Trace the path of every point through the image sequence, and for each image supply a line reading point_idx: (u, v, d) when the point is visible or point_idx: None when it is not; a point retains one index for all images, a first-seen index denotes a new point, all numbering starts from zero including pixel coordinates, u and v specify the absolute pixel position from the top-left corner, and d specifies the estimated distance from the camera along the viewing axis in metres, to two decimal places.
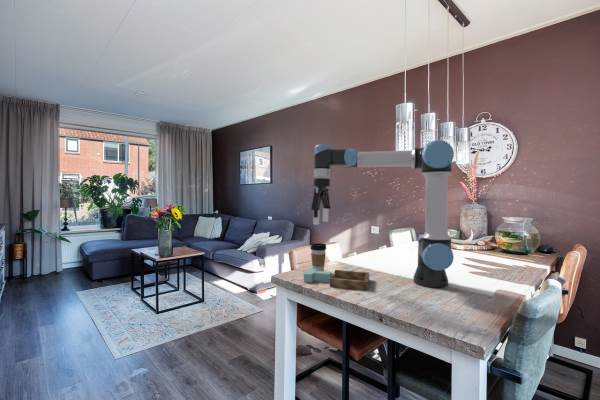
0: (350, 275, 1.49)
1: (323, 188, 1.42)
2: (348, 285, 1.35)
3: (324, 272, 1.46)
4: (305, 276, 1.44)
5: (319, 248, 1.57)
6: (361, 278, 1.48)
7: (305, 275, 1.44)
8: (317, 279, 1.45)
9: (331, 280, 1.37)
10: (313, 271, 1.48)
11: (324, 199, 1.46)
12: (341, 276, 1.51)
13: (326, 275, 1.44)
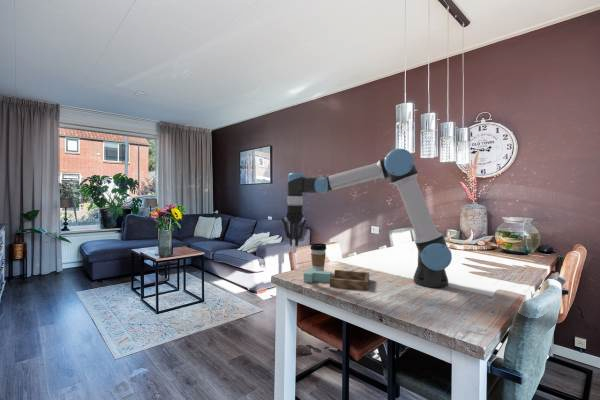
0: (350, 275, 1.49)
1: (292, 214, 1.48)
2: (348, 285, 1.35)
3: (324, 272, 1.46)
4: (305, 276, 1.44)
5: (319, 248, 1.57)
6: (361, 278, 1.48)
7: (305, 275, 1.44)
8: (317, 279, 1.45)
9: (331, 280, 1.37)
10: (313, 271, 1.48)
11: None
12: (341, 276, 1.51)
13: (326, 275, 1.44)
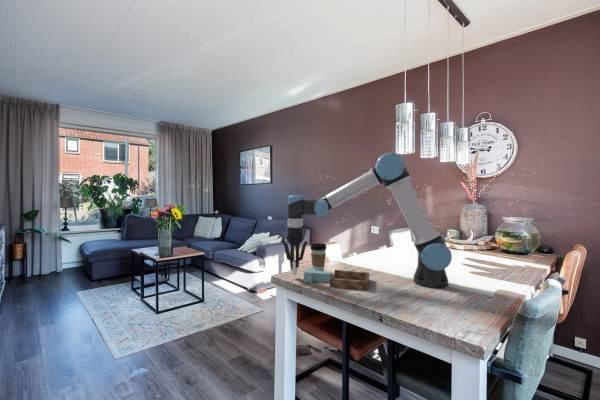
0: (350, 275, 1.49)
1: (293, 236, 1.49)
2: (348, 285, 1.35)
3: (324, 272, 1.46)
4: (305, 276, 1.44)
5: (319, 248, 1.57)
6: (361, 278, 1.48)
7: (305, 275, 1.44)
8: (317, 279, 1.45)
9: (331, 280, 1.37)
10: (313, 271, 1.48)
11: None
12: (341, 276, 1.51)
13: (326, 275, 1.44)
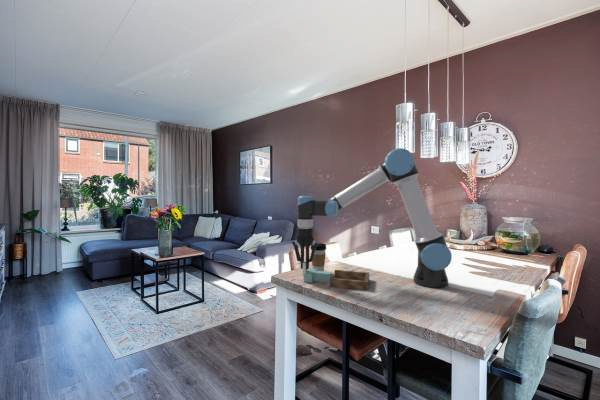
0: (350, 275, 1.49)
1: (303, 237, 1.47)
2: (348, 285, 1.35)
3: (324, 272, 1.46)
4: (305, 276, 1.44)
5: (319, 248, 1.57)
6: (361, 278, 1.48)
7: (305, 275, 1.44)
8: (317, 279, 1.45)
9: (331, 280, 1.37)
10: (313, 271, 1.48)
11: None
12: (341, 276, 1.51)
13: (326, 275, 1.44)
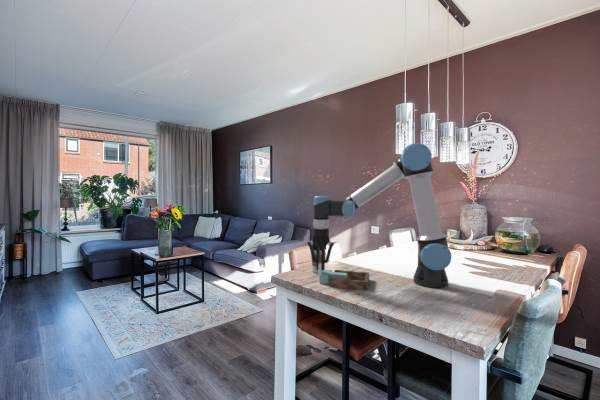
0: (350, 275, 1.49)
1: (318, 238, 1.45)
2: (348, 285, 1.35)
3: (340, 273, 1.44)
4: (321, 277, 1.42)
5: None
6: (361, 278, 1.48)
7: (321, 276, 1.42)
8: None
9: (331, 280, 1.37)
10: (329, 272, 1.46)
11: None
12: None
13: (342, 276, 1.42)
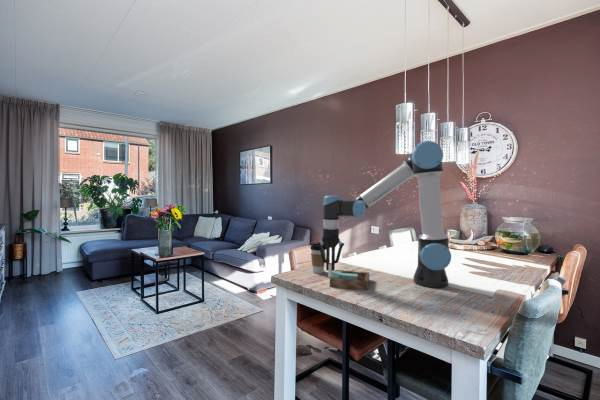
0: None
1: (328, 238, 1.44)
2: (348, 285, 1.35)
3: (350, 274, 1.43)
4: None
5: (319, 248, 1.57)
6: (361, 278, 1.48)
7: (332, 277, 1.40)
8: None
9: (331, 280, 1.37)
10: (339, 273, 1.45)
11: None
12: None
13: (353, 277, 1.41)
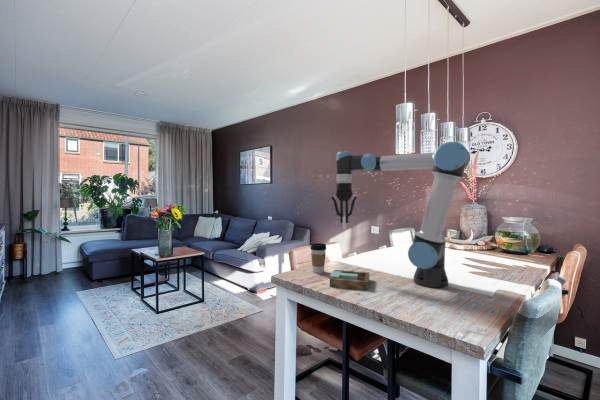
0: None
1: (342, 192, 1.53)
2: (348, 285, 1.35)
3: (350, 274, 1.43)
4: None
5: (319, 248, 1.57)
6: (361, 278, 1.48)
7: (332, 277, 1.40)
8: None
9: (331, 280, 1.37)
10: (339, 273, 1.45)
11: None
12: None
13: (353, 277, 1.41)
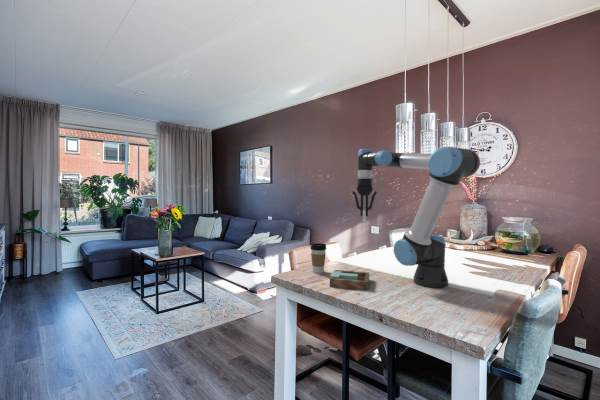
0: None
1: (363, 187, 1.61)
2: (348, 285, 1.35)
3: (350, 274, 1.43)
4: None
5: (319, 248, 1.57)
6: (361, 278, 1.48)
7: (332, 277, 1.40)
8: None
9: (331, 280, 1.37)
10: (339, 273, 1.45)
11: None
12: None
13: (353, 277, 1.41)
